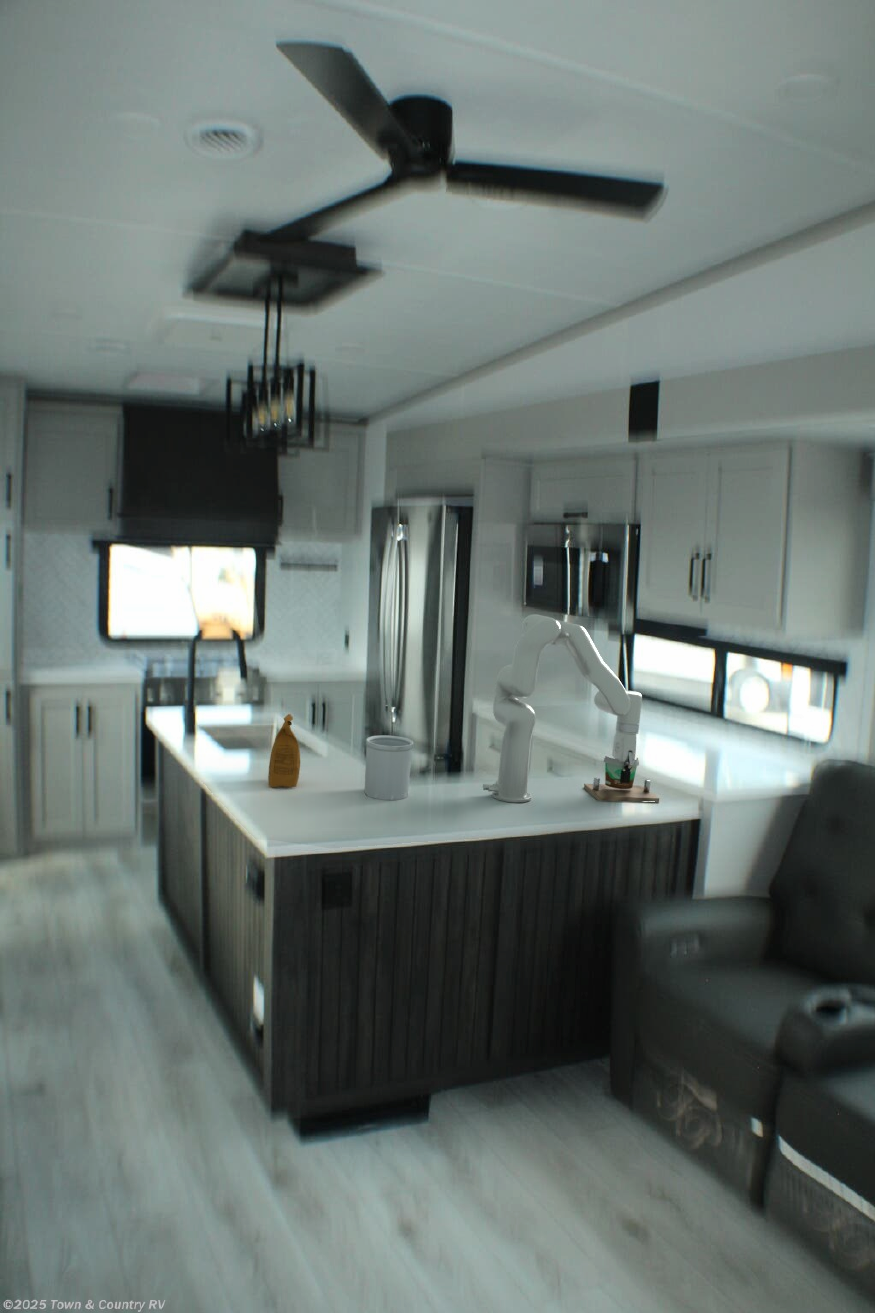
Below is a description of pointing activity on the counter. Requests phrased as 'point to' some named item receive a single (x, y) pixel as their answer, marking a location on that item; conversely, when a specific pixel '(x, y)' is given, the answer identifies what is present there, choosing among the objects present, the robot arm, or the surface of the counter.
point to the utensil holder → (387, 767)
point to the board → (621, 792)
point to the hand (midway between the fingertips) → (621, 780)
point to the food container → (618, 773)
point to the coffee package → (284, 758)
